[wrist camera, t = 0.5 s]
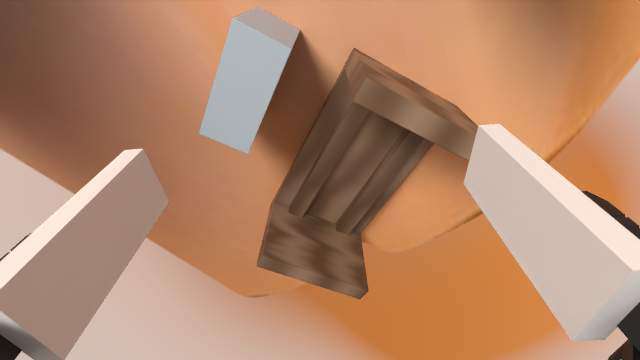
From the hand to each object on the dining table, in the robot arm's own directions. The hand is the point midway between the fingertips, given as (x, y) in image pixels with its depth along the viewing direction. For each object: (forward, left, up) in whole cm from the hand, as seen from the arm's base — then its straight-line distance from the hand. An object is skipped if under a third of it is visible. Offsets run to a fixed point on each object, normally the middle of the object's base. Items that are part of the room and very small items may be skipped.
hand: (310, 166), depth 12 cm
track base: (+10, -10, -23) cm, 27 cm away
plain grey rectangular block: (-5, -4, -23) cm, 24 cm away
